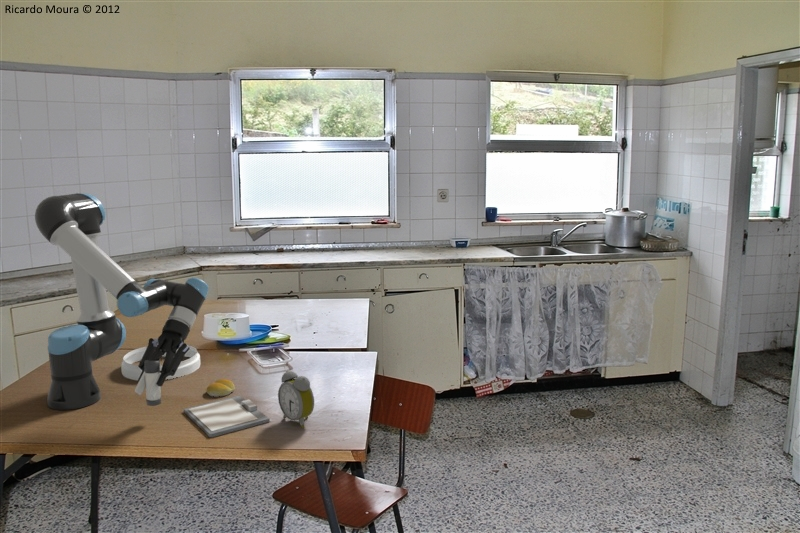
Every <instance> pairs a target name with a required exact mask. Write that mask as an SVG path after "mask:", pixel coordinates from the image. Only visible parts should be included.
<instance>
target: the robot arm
mask: <svg viewBox="0 0 800 533" xmlns="http://www.w3.org/2000/svg"><path fill="white" fill-rule="evenodd" d="M105 218H106V210H105V207H104V205H103V203H102V202H101V201H100V199H98V198H97V197H96V196H94V195H93V194H90V193H84V192H82V193H81V192H80V193H78V192H76V193H70V194H63V195H61V194H60V195H52V196H51V195H50V196H48V197H46V198H44V199H42V200H41V201H40V202H39V204H38V205H37V206H36V208H35V212H34V220H35V224H36V227H37V229H38V231H39V233H41V235H42V236H43V237H44V238H45V239H46V240H47V241H48V242H49V243H50V244H51V245H52V246H59V248H61V249H62V250H63V251H64V252H65V253H66V254H68V256H69V257H70V261H71V266H72V271H73V272H72V273H73V277H74V283H75V289H76V294H77V298H78V304H79V310H80V315H79V316H78V318H77V319H76V322H77V324H71V325H67V326H63V327H59V328H57V329H55V330H53V331H52V332H51V333H50V334H49V336H47V337H48V338H47V351H48V352H47V353H48V360H49V368H50V376H51V377H50V378H51V382H50V386H49V390H48V393H47V398H46V400H47V401H46V402H47V406H48V407H49V408H50V409H52V410H58V411H65V410H66V411H68V410H69V411H70V410H76V409H81V408H86V407H88V406H91V405H93V404H95V403H97V402H98V401H99V400H101V389H100V387H99V385H98V383H97V381H96V379H95V377H94V375H93V374H94V373H93V364H92V363H93V362H95V361H97V360H99V359H102V358H104V357H107V356H109V355H111V354H113V353H115V352H116V351H118V350H119V349H120V348H121V347H122V346H123V345H124V344H125V340H126V338H127V337H126V336H127V330H126V327H125V325H124V323H123V322H121V320H120V319H119V318H117V317H116V316H117V315H116V313H115V312H114V311H112V310H111V309H110V306H109V301H108V295H107V292H108V293H110V294H111V296H113V297H114V298H115V299H116V300H117V302H116V303H117V305H116V306H117V309H118V310H119V312H120V314H121V315H122V316H124V317H127V318H134V317H139V316H142V315H144V314H145V313H148V312H150V311H153V310H156V309H158V308H161V307H164V306H168V307H169V306H171V307H172V309H171V311H170V313H169V315H168V316H167V320H166V321H165V323H164V325H163V327H162V329H161V330H162V331H161V334H160V335H159V336H158V337H157V338H154V339H153V338H152V337H151V338H149V339H148V343H147V346H148V347H147V349H146V351H145V353H144V355H143V357H142V359H141V360H140V361H139V364H138V367H139V368H140V369H141V370H142V373H141V375H140V377H139V379H138V380H137V381H138V383H137V384H136V387H135V389H134V392H135V393H136V394H137V395H139V396H142V395H143V393H144V391H145V390H146V380H145V367H144V361H145V360H148V359H159V360H160V359H161V358H162V357H163V356H162V355H164V354H165V353H166V356H164V360H163V363H162V365H163V366H162V369H161V371H159V372H160V373H161V374H160V373H157V375H156V377H155V379H154V381H153V383H152V385H151V387H150V389H149V391H148V394H149V395H150V396H151V397H153V398H155V396H156V393H157V391H158V389H159V387H160V388H161V387H162V386H163V385H164V383H165V381H166V380H165V379H166V377H168V376H170V375H171V376H174V374H175V372H176V370H177V369H178V367H179V365H180V363H181V361H183V359H184V357H185V356H184V355H185V354H186V352H187V351H188V350H189V349H190V348H189V347H188V344H187V343H185V341H186V339H187V337H188V336H189V333H190V331H191V329H192V327H193V325H194V323H195V321H196V318H197V316H198V314H199V312H200V310H201V308H202V306H203V304H204V302H205V301H206V298H207V296H208V294H209V291H210V286H209V285H208V284H207V282H206V281H204V280H203V279H201V278H198V277H189V278H188V279H187V280H186V281H185V283H183V282H181V283H179V282H174V281H169V280H164V279H160V278H159V279H157V278H156V279H155V278H150V279H149V280H148V279H147V281H146V282H145V283H144V285H143V286H142V285H141V284H140V283H138V282H137V281H136V280H135V279H134V278H133V277H132V276H131V275H130V274H128V273H127V271H126V270H124V269H123V268H122V267H121V266H120V265H119V264H118V263H117V262H116V261H115V260H113V259H112V258H111V257H110V256H109V255H108V254H107V253H106V252H105V251H103V249H102V248H100V247H99V244H98V237H99V236H100V235H101V233H102V231H101V227H100V226H101V225H102V224H104V221H105ZM178 348H179V349H178ZM160 349H161V350H162V351H161V350H160ZM177 349H178V350H177ZM176 351H177V352H176ZM161 356H162V357H161Z"/></svg>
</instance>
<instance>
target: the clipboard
mask: <svg viewBox="0 0 800 533" xmlns="http://www.w3.org/2000/svg"><path fill="white" fill-rule="evenodd" d="M183 413H184V414H185V415H186V416H187V417H188V418H189V419H190V420H191V421H192V422H194V423H195V425H197V427H199V429H201V430H202V431H203V432H204V433H205V434H206V435H207V436H208V437H209V438H215V437H218V436H222V435H225V434H226V435H227V434H229V433H235V432H237V431H241V430H244V429H248V428H252V427H255V426H259V425H263V424H267V423H269V422H271V421H270V418H269V417H268V416H267V415H266V414H264V413H263V412H261V410H260V409H258V405H257V404H256V403H255V402H253V401H252V400H250V399H249V398H248V399H244V398H243V396H241V395H236V396H232V397H227V398H224V399H220V400H215V401H210V402H206V403H203V404H198V405H194V406H189V407H185V408H183Z"/></svg>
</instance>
